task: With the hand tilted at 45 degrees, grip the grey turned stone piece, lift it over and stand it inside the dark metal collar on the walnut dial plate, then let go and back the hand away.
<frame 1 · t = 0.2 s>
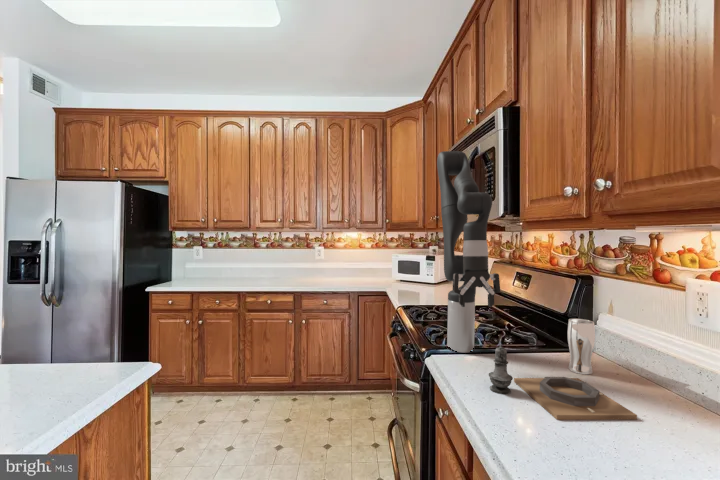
hand: (476, 306, 110), 18 cm above the countertop, tool pointing down, fingers open, 8 cm apart
beer glass: (580, 371, 105), on the countertop
grey turned stone piece: (500, 390, 92), on the countertop
socket plate: (568, 398, 87), on the countertop
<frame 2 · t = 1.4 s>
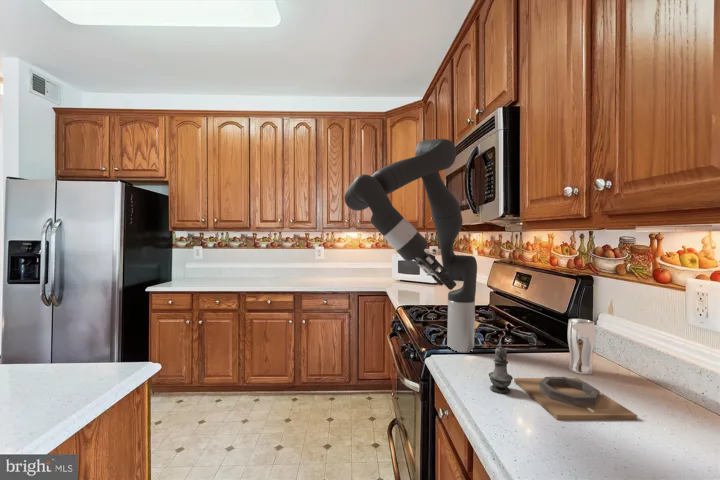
hand: (448, 285, 91), 27 cm above the countertop, tool tilted 45°, fingers open, 8 cm apart
nothing on the countertop moved.
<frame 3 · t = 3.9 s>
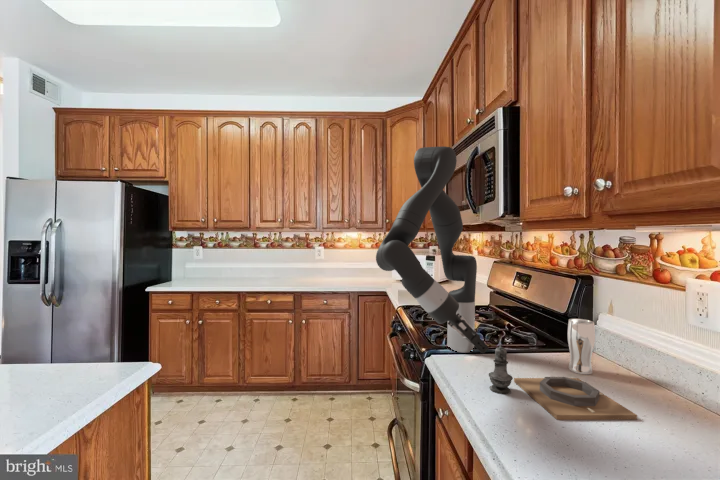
hand: (479, 345, 91), 12 cm above the countertop, tool tilted 45°, fingers open, 8 cm apart
nothing on the countertop moved.
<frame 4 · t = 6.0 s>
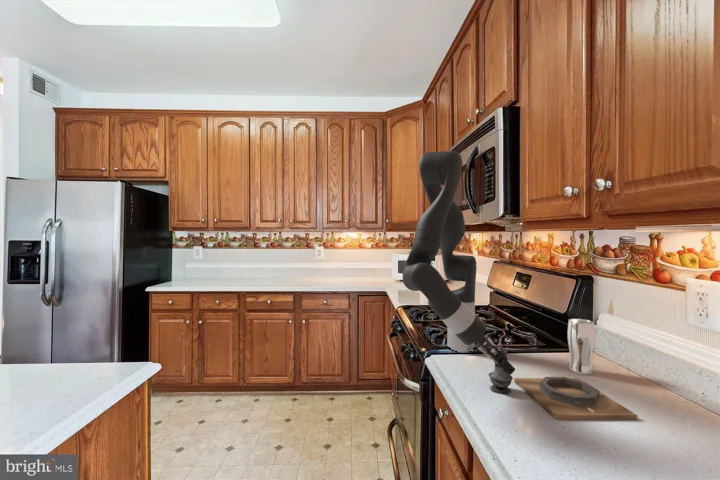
hand: (508, 368, 92), 6 cm above the countertop, tool tilted 45°, fingers closed on grey turned stone piece, 3 cm apart
grey turned stone piece: (500, 390, 92), on the countertop, touching gripper
everything else where it was.
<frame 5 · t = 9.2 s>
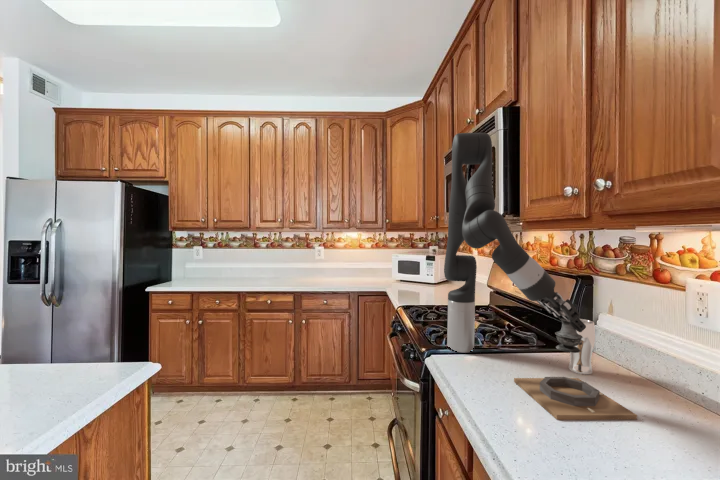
hand: (576, 326, 87), 18 cm above the countertop, tool tilted 45°, fingers closed on grey turned stone piece, 3 cm apart
grey turned stone piece: (568, 350, 87), point 12 cm above the countertop, touching gripper
everything else where it was.
when the fingers open (8 cm above the countertop, at t = 11.9 s): grey turned stone piece drops 1 cm, resting on socket plate.
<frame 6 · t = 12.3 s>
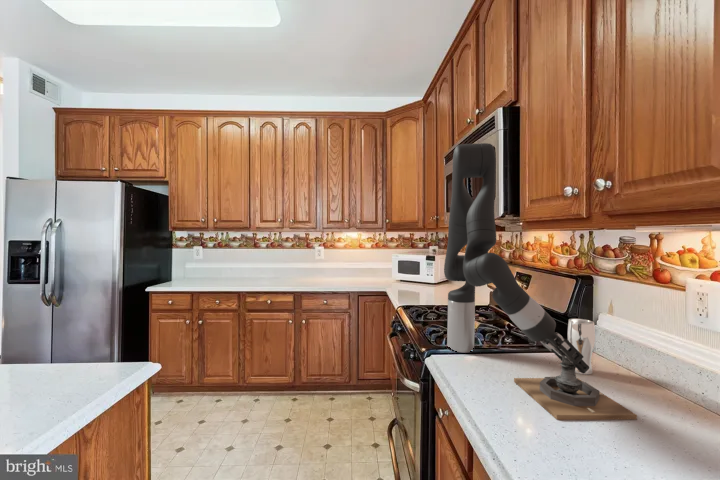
hand: (575, 364, 87), 8 cm above the countertop, tool tilted 45°, fingers open, 7 cm apart
grey turned stone piece: (568, 395, 87), point 1 cm above the countertop, touching socket plate
everything else where it was.
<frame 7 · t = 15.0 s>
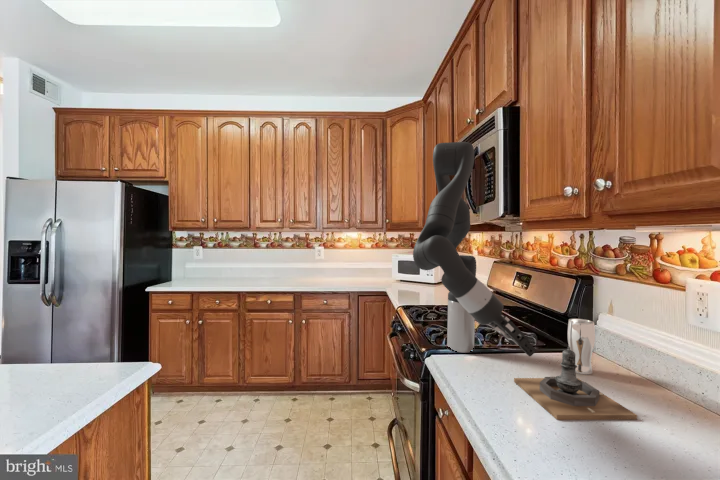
hand: (523, 347, 87), 13 cm above the countertop, tool tilted 45°, fingers open, 8 cm apart
nothing on the countertop moved.
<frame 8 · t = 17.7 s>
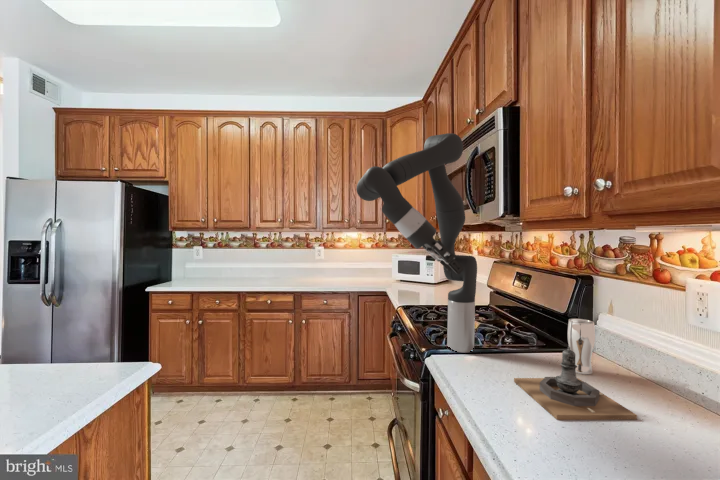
hand: (456, 270, 96), 31 cm above the countertop, tool tilted 45°, fingers open, 8 cm apart
nothing on the countertop moved.
at the end: grey turned stone piece 0.2 cm off-centre on the socket plate, point 0.8 cm above the socket plate's base; grey turned stone piece tilted 0°; the gripper is holding nothing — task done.
